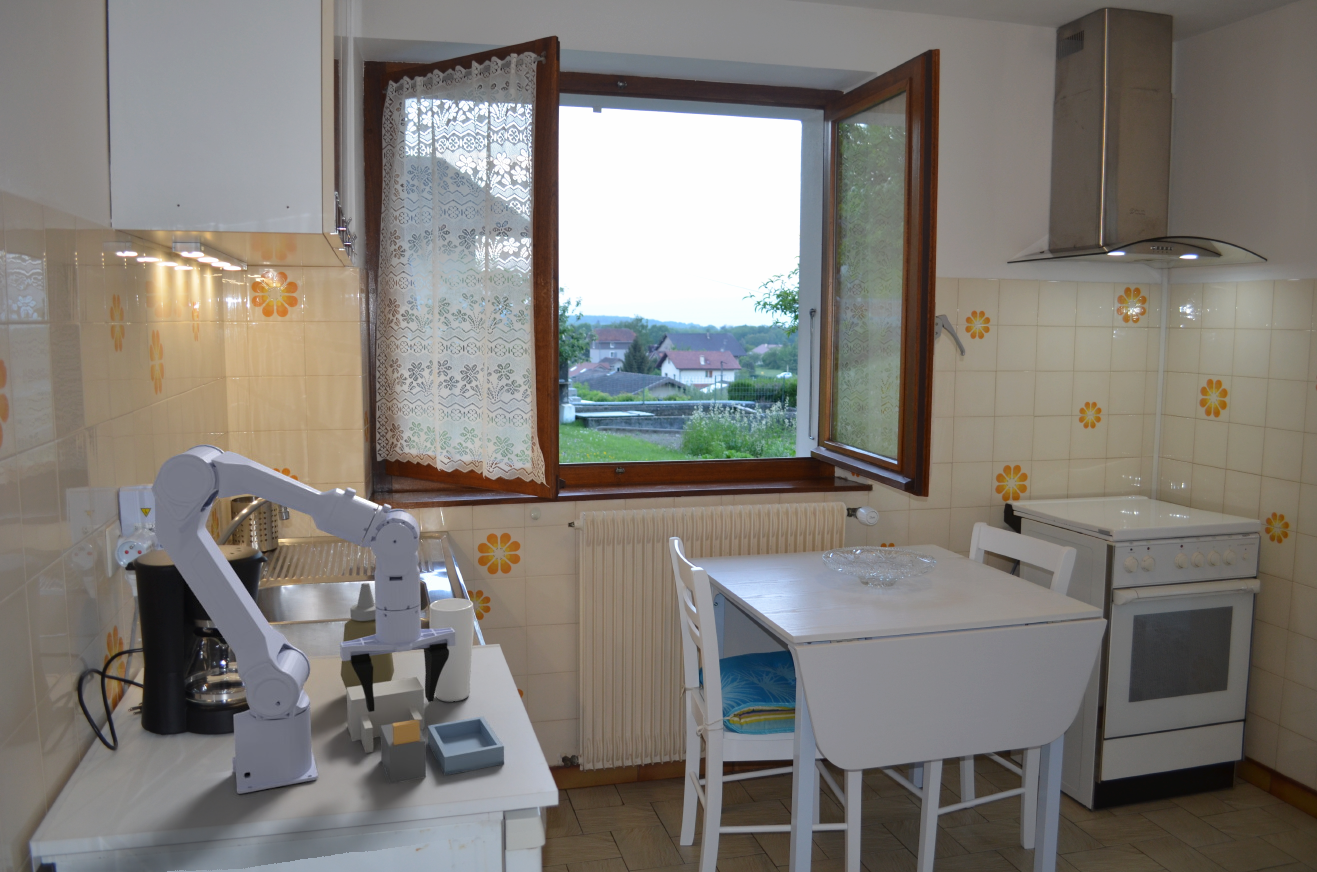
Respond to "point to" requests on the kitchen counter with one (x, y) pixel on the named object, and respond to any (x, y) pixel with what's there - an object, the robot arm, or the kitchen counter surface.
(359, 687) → the bay
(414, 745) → the gray block with tab
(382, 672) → the squeeze bottle
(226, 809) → the kitchen counter surface
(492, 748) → the tray
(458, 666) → the drinking glass
